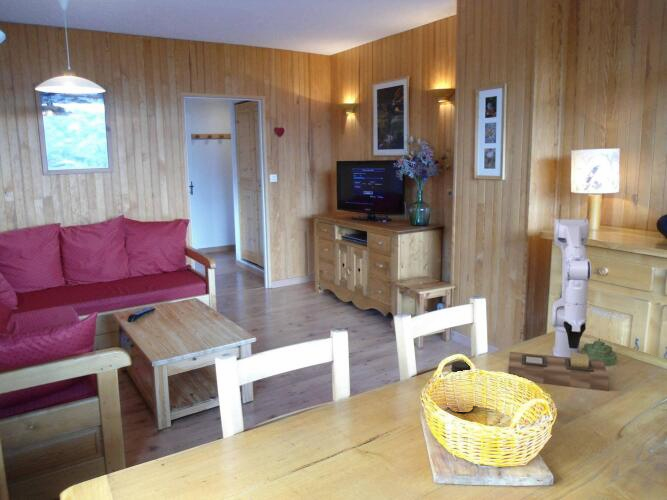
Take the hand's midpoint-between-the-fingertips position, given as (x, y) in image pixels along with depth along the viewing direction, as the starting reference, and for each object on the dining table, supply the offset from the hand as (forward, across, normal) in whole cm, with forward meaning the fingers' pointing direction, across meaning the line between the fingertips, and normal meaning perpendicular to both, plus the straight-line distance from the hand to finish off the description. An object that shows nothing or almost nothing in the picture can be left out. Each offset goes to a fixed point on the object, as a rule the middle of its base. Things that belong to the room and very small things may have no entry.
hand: (573, 347), depth 150 cm
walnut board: (+9, 0, -4) cm, 10 cm away
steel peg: (+9, 0, -10) cm, 14 cm away
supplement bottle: (+10, +28, -28) cm, 40 cm away
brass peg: (+7, 0, +2) cm, 7 cm away
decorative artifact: (+10, -17, +8) cm, 21 cm away
